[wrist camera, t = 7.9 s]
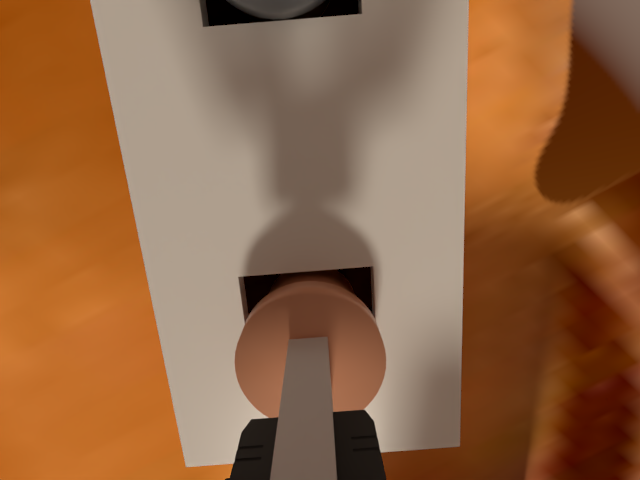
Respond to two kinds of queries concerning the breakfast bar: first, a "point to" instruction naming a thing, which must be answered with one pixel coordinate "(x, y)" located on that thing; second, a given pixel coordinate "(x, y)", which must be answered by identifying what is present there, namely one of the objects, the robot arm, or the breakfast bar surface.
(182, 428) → the plunger panel
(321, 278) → the terracotta plunger
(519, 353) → the breakfast bar surface
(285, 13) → the charcoal plunger
